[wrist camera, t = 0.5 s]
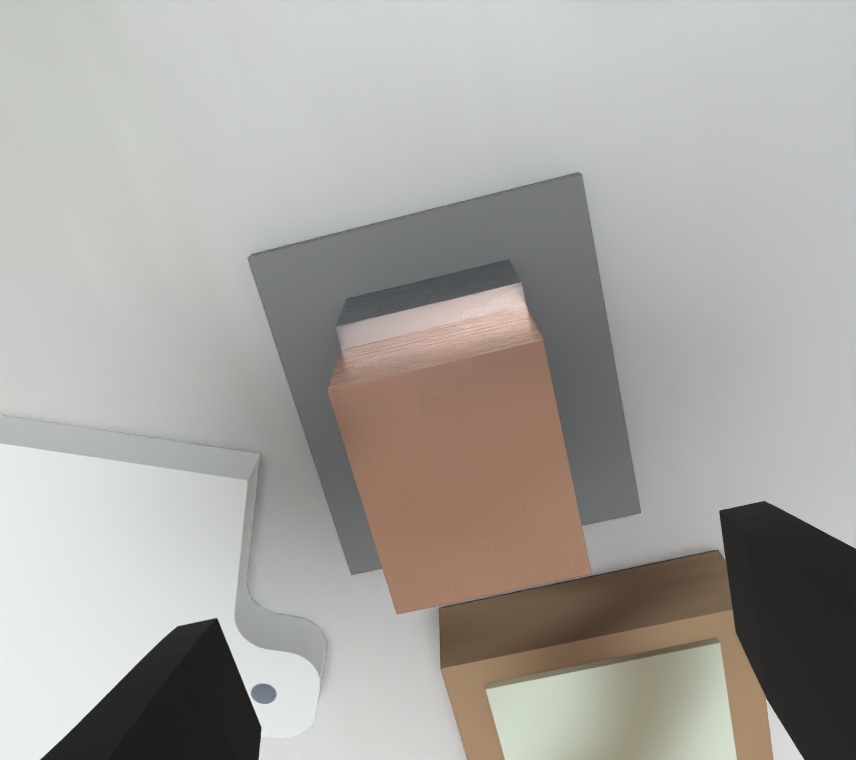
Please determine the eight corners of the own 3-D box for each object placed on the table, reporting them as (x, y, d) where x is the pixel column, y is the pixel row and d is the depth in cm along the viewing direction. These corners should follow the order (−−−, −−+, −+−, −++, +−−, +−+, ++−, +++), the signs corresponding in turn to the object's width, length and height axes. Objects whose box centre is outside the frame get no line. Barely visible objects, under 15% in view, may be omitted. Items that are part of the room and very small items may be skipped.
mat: (577, 172, 18) (581, 174, 18) (636, 503, 21) (641, 513, 21) (252, 254, 19) (247, 258, 18) (352, 564, 22) (351, 575, 21)
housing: (509, 258, 18) (537, 313, 14) (556, 480, 20) (595, 594, 16) (346, 298, 19) (319, 365, 14) (408, 512, 21) (403, 634, 16)
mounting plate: (355, 462, 21) (348, 495, 19) (301, 815, 25) (292, 869, 24) (-332, 357, 20) (-408, 382, 18) (-267, 743, 24) (-323, 794, 23)
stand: (718, 550, 22) (757, 610, 19) (751, 789, 25) (789, 869, 22) (439, 608, 22) (441, 674, 20) (504, 835, 25) (512, 917, 23)
